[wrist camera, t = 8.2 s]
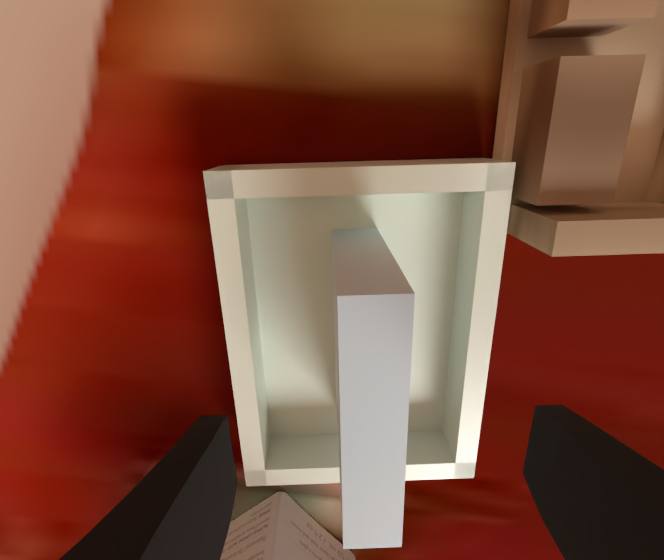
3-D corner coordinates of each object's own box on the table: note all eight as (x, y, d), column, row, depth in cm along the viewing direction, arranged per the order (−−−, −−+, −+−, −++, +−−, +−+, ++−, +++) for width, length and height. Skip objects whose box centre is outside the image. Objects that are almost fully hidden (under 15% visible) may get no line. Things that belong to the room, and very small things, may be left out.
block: (374, 404, 16) (401, 546, 11) (336, 405, 16) (343, 549, 11) (377, 228, 14) (414, 293, 8) (331, 229, 14) (337, 296, 8)
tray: (454, 434, 18) (473, 477, 15) (256, 441, 18) (246, 486, 15) (483, 157, 13) (515, 161, 11) (222, 165, 13) (202, 171, 11)
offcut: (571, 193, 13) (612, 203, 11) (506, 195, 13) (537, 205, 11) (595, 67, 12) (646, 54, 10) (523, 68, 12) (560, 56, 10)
